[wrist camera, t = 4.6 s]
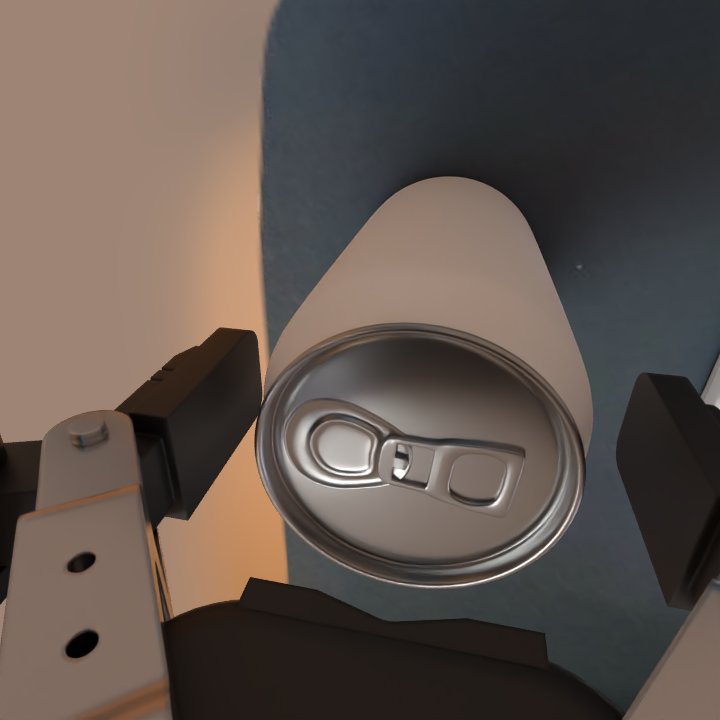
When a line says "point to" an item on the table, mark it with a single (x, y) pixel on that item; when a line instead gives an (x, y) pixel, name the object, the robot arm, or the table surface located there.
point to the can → (429, 397)
